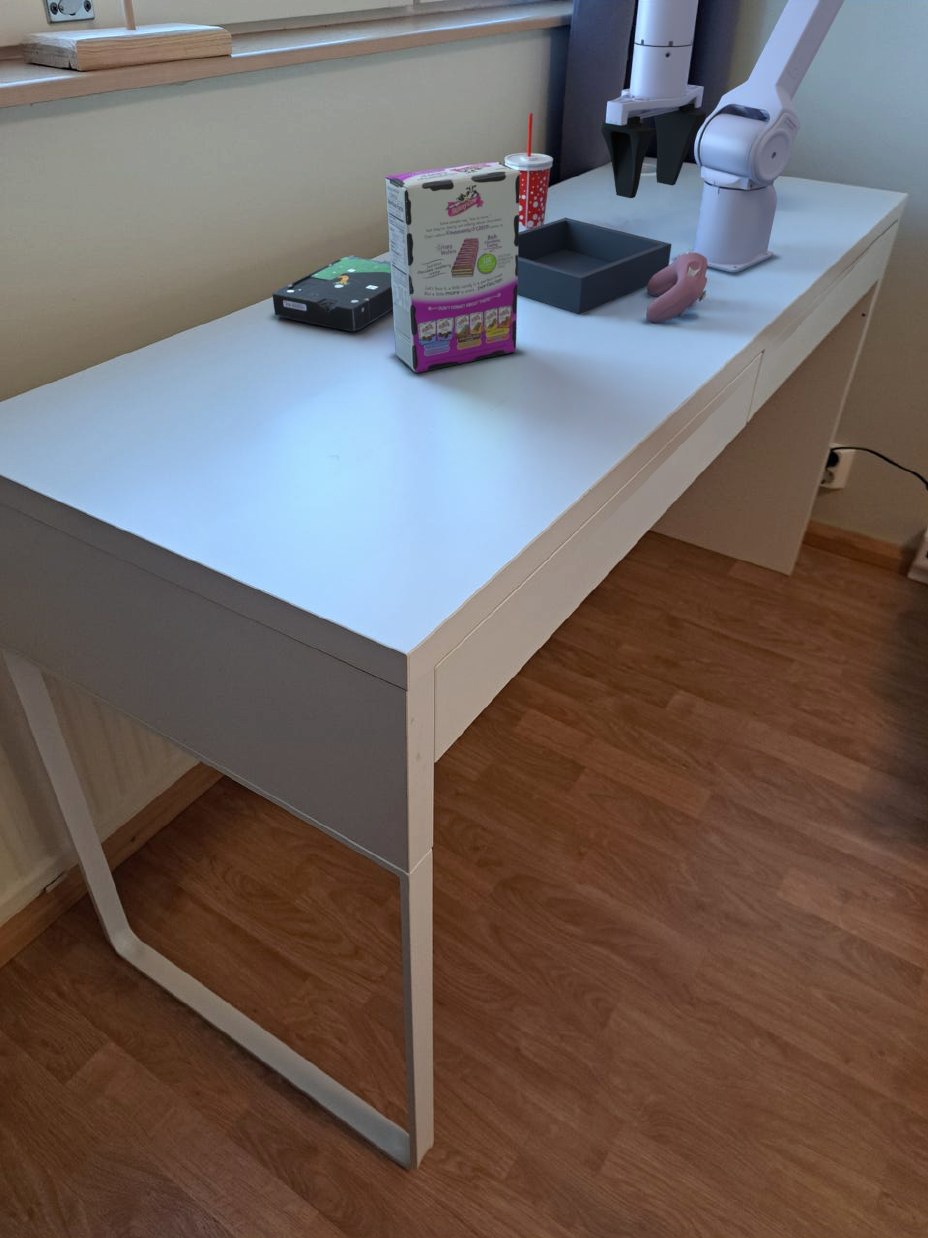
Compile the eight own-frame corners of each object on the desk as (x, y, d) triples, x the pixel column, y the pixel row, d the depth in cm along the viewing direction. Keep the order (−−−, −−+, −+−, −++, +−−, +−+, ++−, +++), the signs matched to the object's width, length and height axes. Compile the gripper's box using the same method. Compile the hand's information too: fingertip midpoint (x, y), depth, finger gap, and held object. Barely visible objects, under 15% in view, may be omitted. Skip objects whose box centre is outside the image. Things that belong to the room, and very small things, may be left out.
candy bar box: (492, 336, 93) (496, 158, 83) (517, 353, 89) (524, 170, 79) (391, 356, 89) (382, 172, 79) (413, 374, 85) (406, 185, 75)
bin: (563, 249, 116) (565, 217, 113) (667, 277, 107) (671, 243, 105) (473, 280, 106) (473, 246, 104) (579, 313, 98) (582, 277, 96)
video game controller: (678, 340, 96) (719, 282, 92) (641, 318, 95) (681, 258, 91) (677, 308, 104) (715, 252, 99) (643, 287, 103) (679, 230, 99)
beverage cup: (549, 226, 124) (556, 109, 115) (548, 239, 119) (555, 118, 110) (504, 224, 124) (507, 108, 115) (501, 238, 119) (504, 117, 111)
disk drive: (357, 336, 93) (426, 290, 104) (355, 309, 91) (425, 264, 102) (273, 319, 97) (348, 276, 107) (269, 292, 95) (346, 251, 105)
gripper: (670, 33, 98) (653, 172, 106) (586, 46, 90) (576, 195, 98) (728, 39, 94) (706, 182, 102) (646, 53, 86) (629, 207, 94)
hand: (646, 189), depth 100 cm, fingers open, 7 cm apart
